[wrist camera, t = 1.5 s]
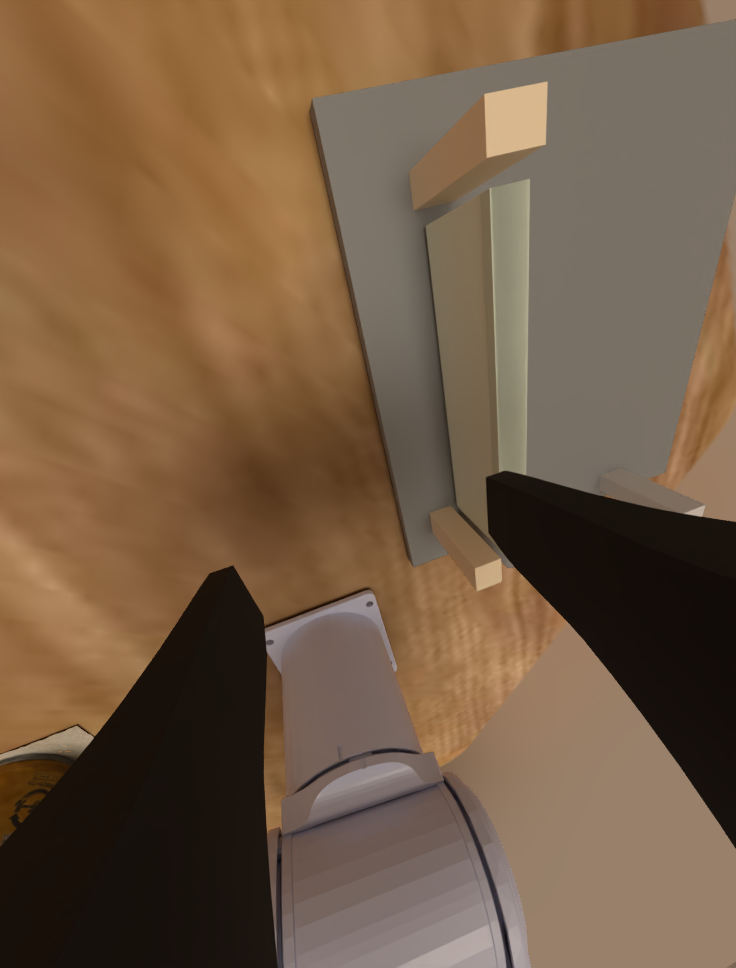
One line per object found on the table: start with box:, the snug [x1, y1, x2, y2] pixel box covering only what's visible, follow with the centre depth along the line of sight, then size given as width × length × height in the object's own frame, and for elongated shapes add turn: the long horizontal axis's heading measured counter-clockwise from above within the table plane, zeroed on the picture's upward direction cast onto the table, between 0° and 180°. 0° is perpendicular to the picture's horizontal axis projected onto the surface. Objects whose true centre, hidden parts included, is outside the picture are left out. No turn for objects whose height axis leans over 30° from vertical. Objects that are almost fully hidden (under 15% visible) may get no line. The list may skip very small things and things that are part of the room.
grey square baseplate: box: [310, 19, 736, 591], centre depth 16 cm, size 22×20×6 cm
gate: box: [426, 179, 530, 568], centre depth 15 cm, size 15×1×5 cm, turn 13°
